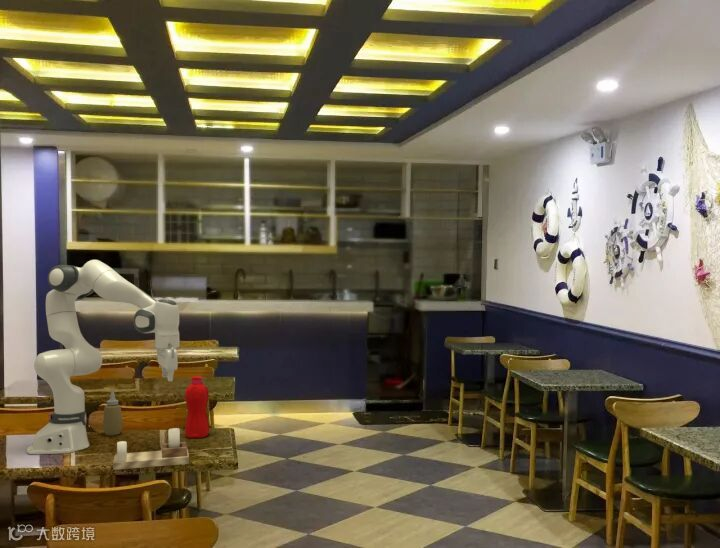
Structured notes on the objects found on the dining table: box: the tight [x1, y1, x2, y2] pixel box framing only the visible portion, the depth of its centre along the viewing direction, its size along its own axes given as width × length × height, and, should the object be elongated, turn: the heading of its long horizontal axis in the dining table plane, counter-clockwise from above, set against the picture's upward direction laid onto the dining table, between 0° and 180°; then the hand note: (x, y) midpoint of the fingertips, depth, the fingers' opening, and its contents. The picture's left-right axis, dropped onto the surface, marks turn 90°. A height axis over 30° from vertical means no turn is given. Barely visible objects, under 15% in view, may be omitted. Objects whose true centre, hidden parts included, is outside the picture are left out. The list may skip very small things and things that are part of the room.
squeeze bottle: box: [102, 391, 124, 437], centre depth 301 cm, size 8×8×18 cm
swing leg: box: [116, 440, 128, 462], centre depth 255 cm, size 9×3×6 cm, turn 15°
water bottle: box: [184, 375, 213, 439], centre depth 298 cm, size 9×11×25 cm
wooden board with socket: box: [112, 441, 190, 471], centre depth 259 cm, size 26×12×5 cm, turn 106°
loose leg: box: [167, 427, 181, 448], centre depth 261 cm, size 4×4×9 cm
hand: (167, 379), depth 269 cm, fingers open, 8 cm apart
